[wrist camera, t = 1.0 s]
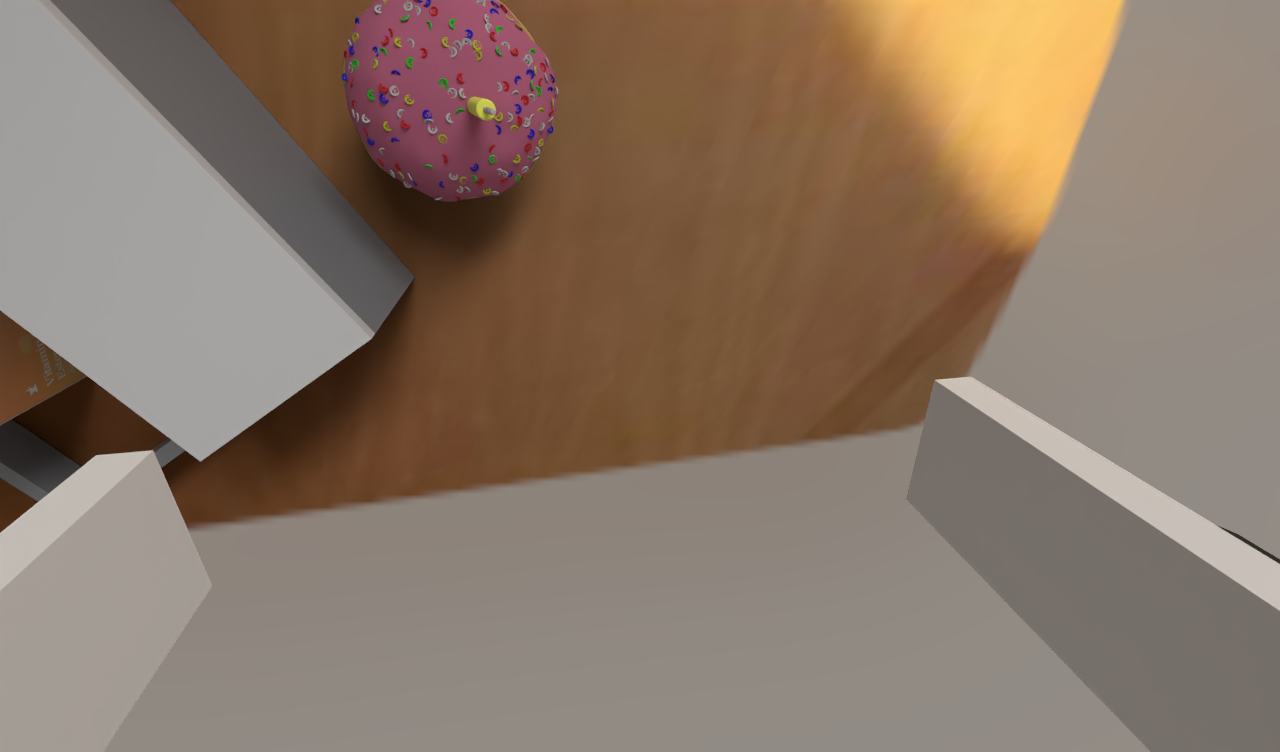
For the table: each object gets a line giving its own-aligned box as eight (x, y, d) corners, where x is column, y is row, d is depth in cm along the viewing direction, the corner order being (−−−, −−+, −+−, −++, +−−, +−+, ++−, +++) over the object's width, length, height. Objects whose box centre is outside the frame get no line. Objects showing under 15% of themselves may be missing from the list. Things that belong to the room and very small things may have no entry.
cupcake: (566, 31, 28) (589, -22, 17) (535, 207, 31) (539, 256, 20) (376, -28, 26) (265, -130, 15) (364, 168, 29) (266, 200, 18)
